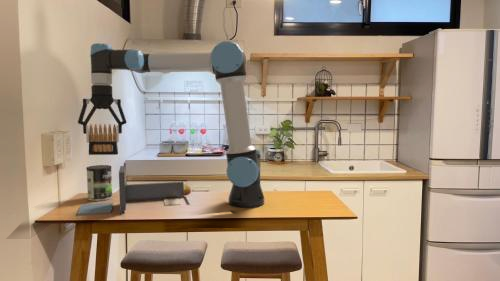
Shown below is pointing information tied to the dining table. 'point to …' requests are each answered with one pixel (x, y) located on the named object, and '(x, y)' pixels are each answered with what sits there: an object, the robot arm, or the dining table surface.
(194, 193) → the dining table surface
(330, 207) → the dining table surface
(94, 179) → the coffee can
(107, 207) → the mat
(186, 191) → the fruit
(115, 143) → the ammunition clip
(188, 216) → the dining table surface
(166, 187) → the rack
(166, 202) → the offcut upper
